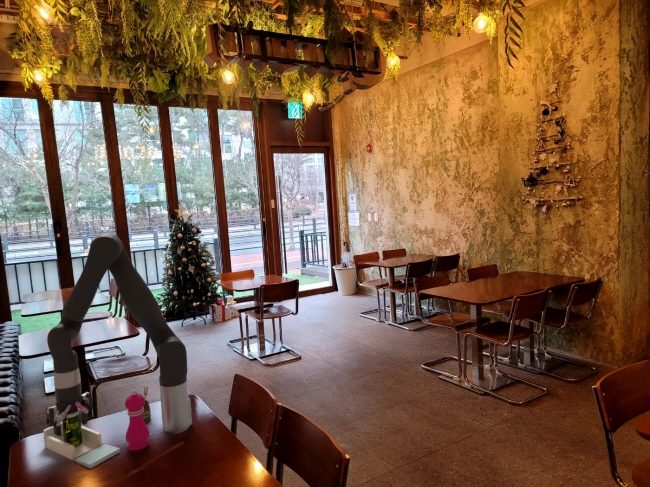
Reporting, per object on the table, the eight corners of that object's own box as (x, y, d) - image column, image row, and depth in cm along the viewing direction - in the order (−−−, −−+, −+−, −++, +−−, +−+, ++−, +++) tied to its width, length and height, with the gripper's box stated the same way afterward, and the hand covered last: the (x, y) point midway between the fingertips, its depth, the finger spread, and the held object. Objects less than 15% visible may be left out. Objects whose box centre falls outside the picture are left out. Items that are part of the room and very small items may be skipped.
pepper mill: (122, 448, 146) (118, 390, 145) (144, 439, 152) (139, 383, 150) (132, 456, 142) (127, 396, 140) (154, 447, 147) (149, 389, 145)
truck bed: (74, 435, 156) (73, 417, 155) (102, 447, 148) (100, 427, 147) (45, 450, 147) (43, 430, 147) (72, 462, 139) (70, 441, 139)
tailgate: (103, 442, 148) (120, 447, 143) (103, 447, 148) (121, 452, 143) (72, 458, 139) (89, 464, 134) (72, 463, 139) (90, 469, 134)
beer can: (64, 444, 148) (60, 410, 147) (82, 439, 151) (79, 406, 150) (64, 451, 144) (61, 416, 143) (83, 446, 147) (80, 412, 146)
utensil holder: (130, 423, 163) (127, 392, 162) (142, 415, 169) (139, 385, 168) (143, 425, 162) (141, 394, 160) (155, 417, 167) (152, 387, 166)
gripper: (51, 393, 138) (56, 443, 139) (95, 377, 150) (98, 422, 151) (38, 389, 141) (43, 437, 143) (82, 373, 154) (86, 418, 155)
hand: (72, 429), depth 147 cm, fingers open, 8 cm apart
